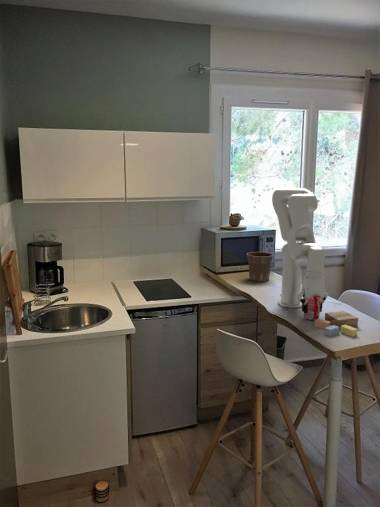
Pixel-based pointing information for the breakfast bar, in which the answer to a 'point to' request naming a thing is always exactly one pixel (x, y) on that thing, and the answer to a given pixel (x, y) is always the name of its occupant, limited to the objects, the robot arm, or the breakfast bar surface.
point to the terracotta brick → (322, 323)
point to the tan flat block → (341, 319)
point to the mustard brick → (348, 330)
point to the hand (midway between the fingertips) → (311, 311)
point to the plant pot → (259, 265)
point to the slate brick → (331, 330)
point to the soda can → (313, 308)
